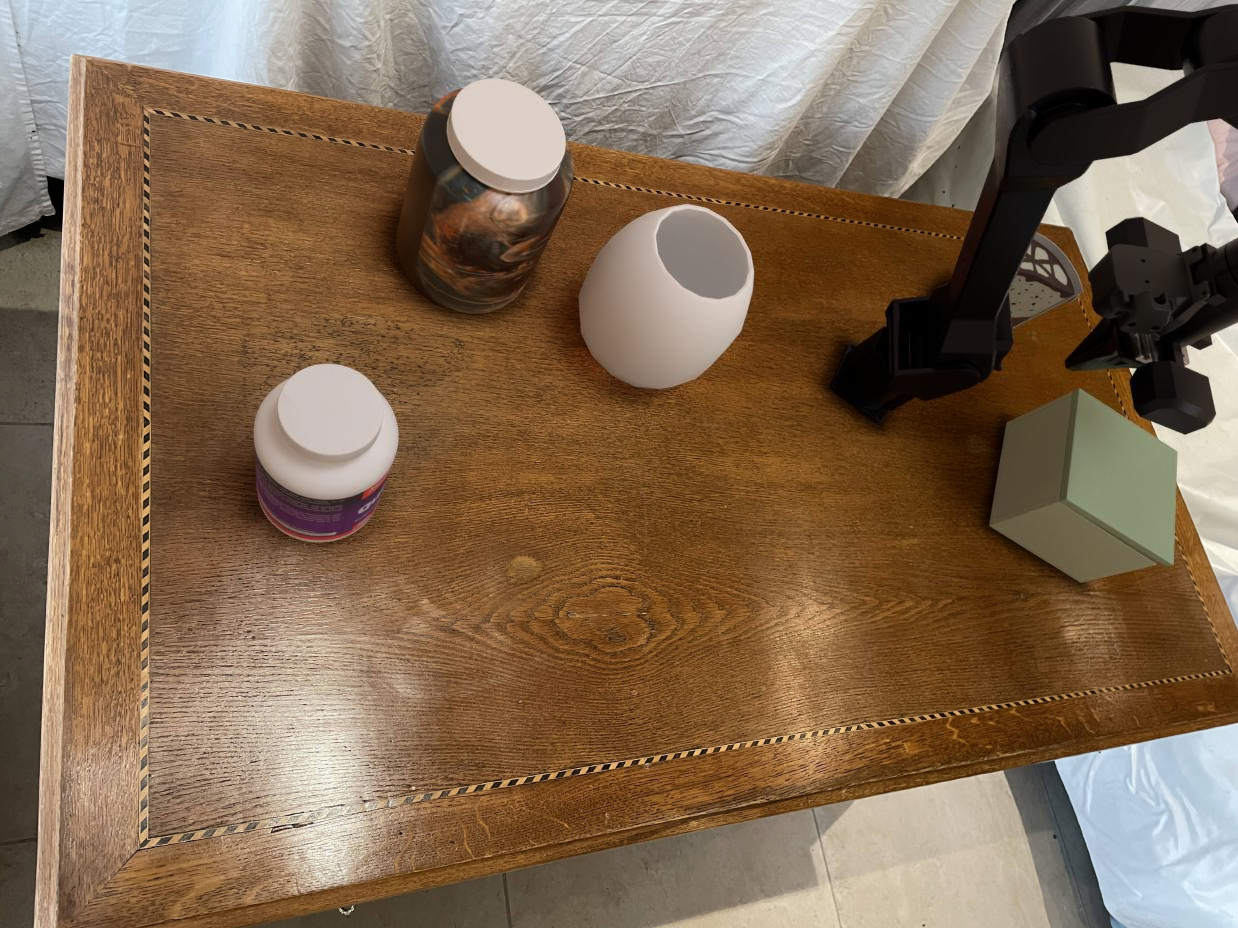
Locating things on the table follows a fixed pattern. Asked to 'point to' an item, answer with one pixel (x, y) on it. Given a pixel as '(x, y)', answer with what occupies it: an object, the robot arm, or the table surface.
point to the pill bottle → (323, 452)
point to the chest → (1052, 501)
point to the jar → (483, 195)
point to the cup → (666, 296)
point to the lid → (1120, 477)
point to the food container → (1042, 281)
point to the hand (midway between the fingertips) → (1068, 366)
